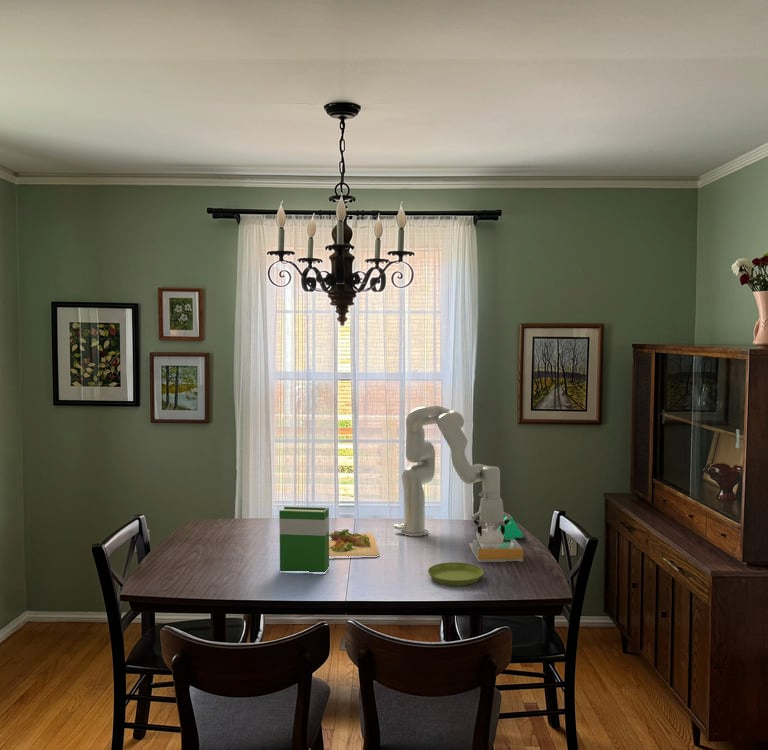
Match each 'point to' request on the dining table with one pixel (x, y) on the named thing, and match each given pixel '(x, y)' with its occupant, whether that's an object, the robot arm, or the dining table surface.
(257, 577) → the dining table surface
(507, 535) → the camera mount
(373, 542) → the cutting board
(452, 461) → the robot arm
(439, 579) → the saucer
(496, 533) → the bust
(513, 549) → the shallow tray
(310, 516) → the green cereal box
